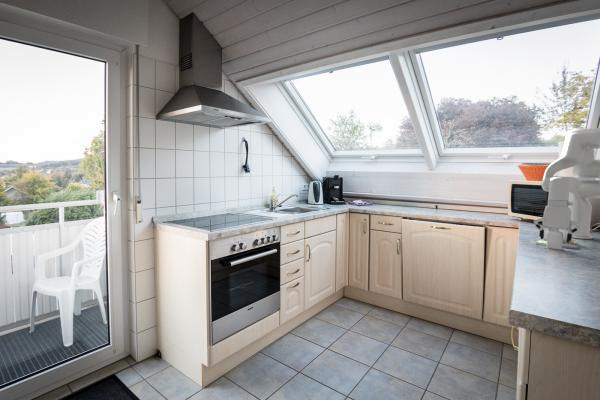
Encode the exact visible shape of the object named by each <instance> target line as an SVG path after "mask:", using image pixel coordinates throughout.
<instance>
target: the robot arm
mask: <svg viewBox="0 0 600 400" xmlns="http://www.w3.org/2000/svg"><path fill="white" fill-rule="evenodd" d="M564 136H565V137H564V138H565V140H564V144H563V146H562V150H561V155H560V158H557V159H556V160H555V161H553V162H552V163H550V164H549V166H548V167H547V168H546V169H545V171H544V173H543V178H542V180H541V188H542V189H543V191H544V192H548V196H547V198H548V199H547V205H545V208H544V211H543V216H542V217H540V218H538V219H534V220H533V224H534V225H535V227H536V229H538V230H539V234H538V235H539V236H538V237H539V238H540V239H541V240H544V239H545V238H544V237H545V230H544V229H546V228H548V229H549V228H557V229H566V230H567V231H568V234H567V242H568V243H569V241H571V238H572V239H579V240H580V239H582V240H592V239H593V238H594V236H593V235H590V232H591V231H590V230H591V222H592V221H591V220H592V210H593V205H592V204H591V202H590V201H589V200H588V198H589V199H591V198H593V199H600V159H595V149H597V150H598V149H600V127H593V128H592V127H591V128H577V129H576V128H575V129H571V130H568V131H566V133H565V134H564ZM571 168H572V174H573V176H558V175H557V176H554V175H555V174H556V173H558V172H560V171H563V170H566V169H571ZM579 178H584V179H579ZM585 178H587V179H585ZM589 178H590V179H589ZM591 178H592V179H591ZM572 220H574V221H572ZM539 222H542V223H541V224H542V225H540V223H539ZM571 224H573V230H571V229H570V226H571Z"/></svg>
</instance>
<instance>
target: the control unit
mask: <svg viewBox="0 0 600 400" xmlns="http://www.w3.org/2000/svg"><path fill="white" fill-rule="evenodd" d="M572 221H574V220H572ZM552 229H553V228H548V232H549V231H552ZM570 229H571V230H573V224H571V226H570ZM559 231H560V232H562V233H563V242H562V243H565V244H573V245H577V244H576V243H577V240H573V238H571V241H569V243H568V242H567V234H568V231H567V230H566V229H559ZM543 241H547V237H545V238H543Z"/></svg>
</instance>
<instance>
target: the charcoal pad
mask: <svg viewBox="0 0 600 400" xmlns="http://www.w3.org/2000/svg"><path fill="white" fill-rule="evenodd" d="M562 248H563V249H569V250H577V249H578V244H575V245H573V244H565V243H562Z"/></svg>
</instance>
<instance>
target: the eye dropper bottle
mask: <svg viewBox="0 0 600 400" xmlns="http://www.w3.org/2000/svg"><path fill="white" fill-rule="evenodd" d="M562 242H563V233H562V232H560V231H559V229H557V228H553V229H552V231H549V230H548V232H547V246H546V248H547V249H553V250H562Z"/></svg>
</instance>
